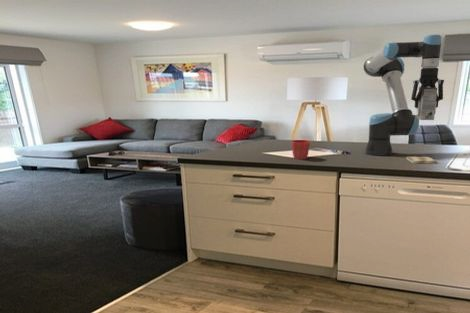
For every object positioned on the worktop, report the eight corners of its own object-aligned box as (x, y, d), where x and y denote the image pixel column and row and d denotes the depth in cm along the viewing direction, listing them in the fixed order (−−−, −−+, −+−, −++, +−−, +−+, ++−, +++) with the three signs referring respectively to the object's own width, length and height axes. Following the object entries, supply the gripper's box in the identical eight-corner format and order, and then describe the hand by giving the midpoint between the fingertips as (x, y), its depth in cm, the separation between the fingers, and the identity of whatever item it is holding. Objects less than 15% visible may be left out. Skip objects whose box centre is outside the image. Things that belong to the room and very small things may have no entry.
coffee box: (415, 118, 177) (418, 87, 174) (429, 118, 175) (432, 86, 172) (420, 120, 169) (423, 87, 165) (434, 120, 167) (437, 87, 163)
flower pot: (311, 156, 197) (311, 139, 195) (308, 160, 187) (308, 142, 185) (292, 155, 200) (293, 139, 198) (289, 159, 190) (289, 142, 188)
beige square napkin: (413, 163, 172) (413, 160, 172) (406, 158, 183) (406, 156, 183) (436, 163, 170) (436, 161, 170) (427, 158, 181) (428, 156, 181)
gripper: (411, 68, 165) (407, 115, 169) (455, 66, 161) (449, 114, 166) (406, 68, 172) (402, 113, 177) (447, 67, 169) (442, 113, 174)
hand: (425, 114), depth 172 cm, fingers closed on coffee box, 7 cm apart
